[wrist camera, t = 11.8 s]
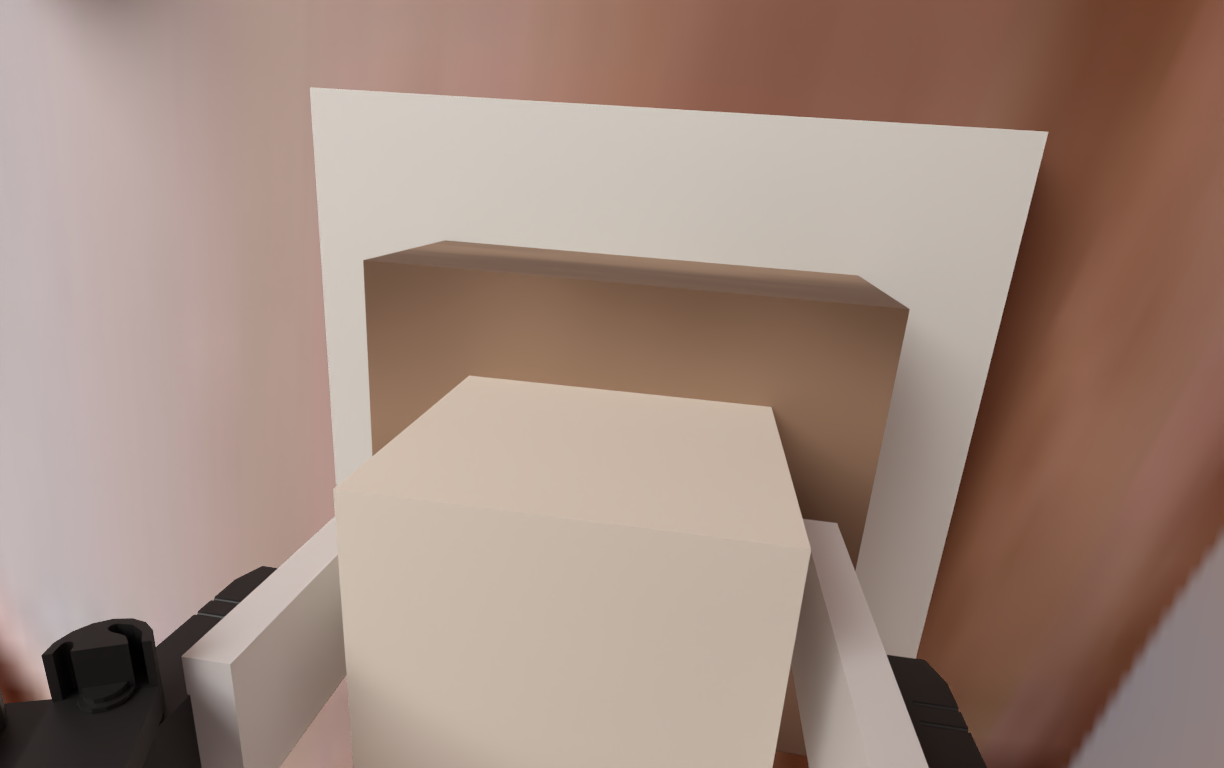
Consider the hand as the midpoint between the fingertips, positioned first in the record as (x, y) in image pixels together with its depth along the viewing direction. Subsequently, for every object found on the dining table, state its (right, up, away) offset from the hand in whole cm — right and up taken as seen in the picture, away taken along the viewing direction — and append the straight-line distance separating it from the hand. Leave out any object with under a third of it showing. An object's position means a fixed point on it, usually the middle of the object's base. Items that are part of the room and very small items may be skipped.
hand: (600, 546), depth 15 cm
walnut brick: (+1, +2, +6) cm, 6 cm away
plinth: (+1, +2, +7) cm, 8 cm away
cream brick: (0, 0, +1) cm, 1 cm away
